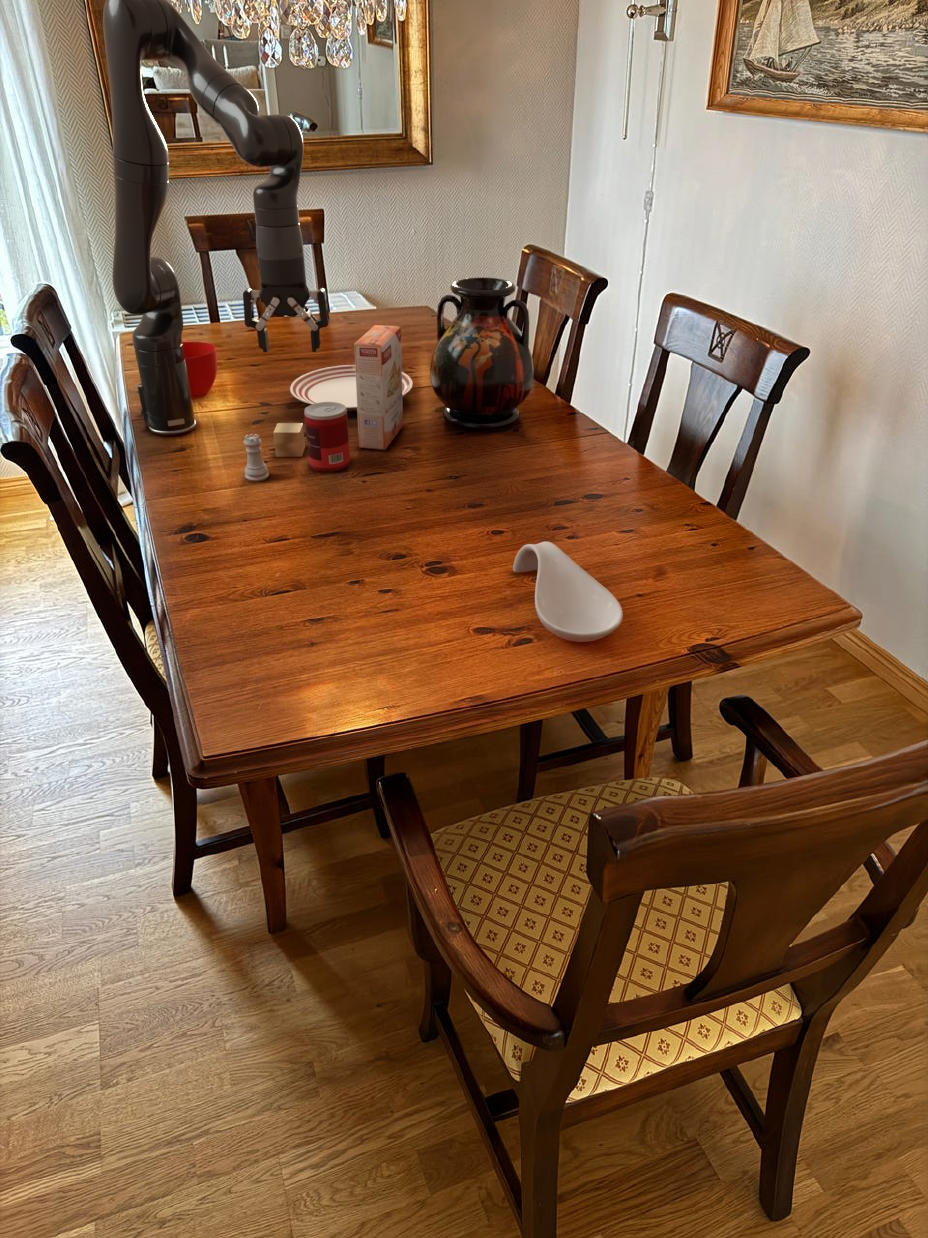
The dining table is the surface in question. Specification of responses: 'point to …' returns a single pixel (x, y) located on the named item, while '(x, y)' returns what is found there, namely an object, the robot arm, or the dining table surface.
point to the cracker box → (379, 386)
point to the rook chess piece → (254, 460)
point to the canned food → (327, 436)
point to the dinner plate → (334, 386)
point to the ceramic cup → (200, 366)
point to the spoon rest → (568, 595)
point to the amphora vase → (482, 357)
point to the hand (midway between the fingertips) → (290, 350)
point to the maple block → (289, 439)
